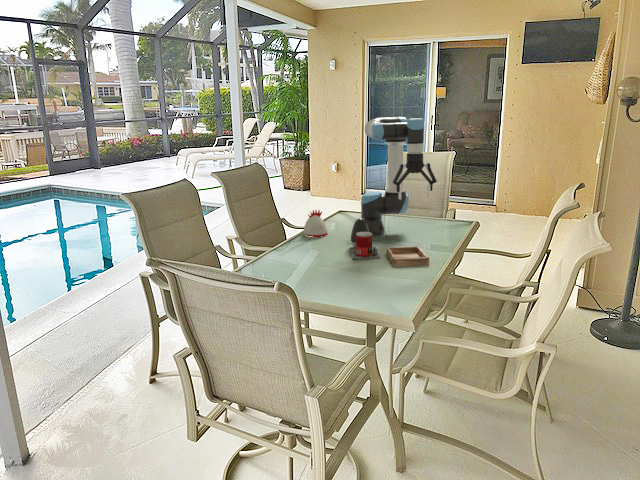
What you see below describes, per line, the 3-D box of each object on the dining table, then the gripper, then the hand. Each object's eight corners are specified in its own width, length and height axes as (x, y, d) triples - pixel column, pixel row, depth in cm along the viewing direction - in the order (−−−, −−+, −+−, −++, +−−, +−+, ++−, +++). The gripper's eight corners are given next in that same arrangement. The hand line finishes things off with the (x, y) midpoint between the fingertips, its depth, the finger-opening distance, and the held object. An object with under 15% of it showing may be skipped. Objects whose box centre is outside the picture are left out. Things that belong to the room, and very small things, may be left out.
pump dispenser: (373, 245, 258) (373, 217, 254) (366, 250, 249) (366, 221, 245) (355, 243, 262) (354, 215, 258) (347, 248, 253) (347, 220, 249)
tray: (386, 254, 242) (386, 247, 241) (418, 252, 242) (418, 246, 241) (394, 266, 222) (394, 259, 221) (429, 264, 223) (429, 257, 222)
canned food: (371, 257, 237) (371, 235, 234) (355, 257, 238) (354, 235, 236) (373, 253, 244) (373, 231, 241) (357, 252, 246) (357, 231, 243)
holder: (349, 251, 248) (349, 245, 247) (376, 250, 248) (376, 244, 247) (352, 259, 234) (351, 252, 233) (380, 258, 235) (380, 251, 234)
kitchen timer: (330, 236, 279) (329, 210, 275) (306, 238, 276) (305, 212, 272) (324, 231, 292) (323, 206, 288) (301, 233, 289) (300, 208, 285)
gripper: (389, 154, 221) (389, 200, 227) (444, 152, 222) (442, 198, 228) (386, 153, 229) (386, 198, 234) (439, 151, 229) (438, 196, 235)
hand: (414, 198), depth 231 cm, fingers open, 13 cm apart
